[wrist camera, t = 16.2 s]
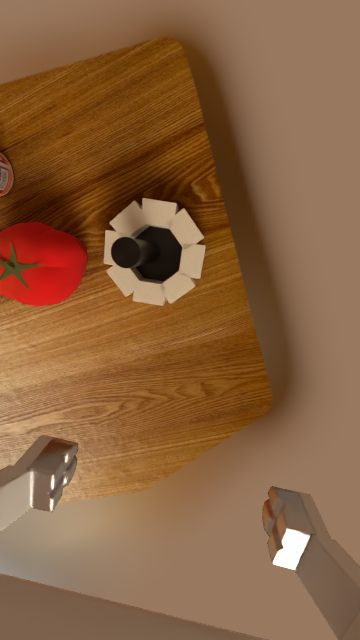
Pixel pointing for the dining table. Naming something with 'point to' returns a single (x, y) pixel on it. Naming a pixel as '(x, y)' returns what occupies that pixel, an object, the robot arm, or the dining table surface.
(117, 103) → the dining table surface
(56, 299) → the tomato
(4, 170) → the pill bottle
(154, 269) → the post
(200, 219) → the dining table surface
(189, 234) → the ring
